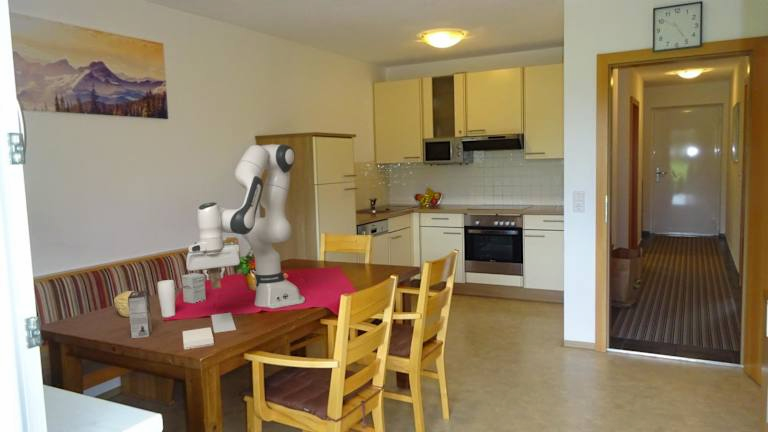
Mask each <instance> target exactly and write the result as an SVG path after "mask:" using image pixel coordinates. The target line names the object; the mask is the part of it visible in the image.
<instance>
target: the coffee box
mask: <svg viewBox="0 0 768 432" xmlns="http://www.w3.org/2000/svg"><path fill="white" fill-rule="evenodd" d="M150 303H151V302H150V293H149V290H148V289H145V290H138V291H136V292H131V294H130V295H129V297H128V304H129V314H130V317H129V325H130V332H131V333H130V334H131V339H132V340H133V338H134V339H140V338H147V337H150V335H151V333H152V330H153V326H152V316H151V304H150Z"/></svg>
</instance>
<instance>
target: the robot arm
mask: <svg viewBox="0 0 768 432" xmlns="http://www.w3.org/2000/svg"><path fill="white" fill-rule="evenodd" d="M295 154H296V153H295V150H294V149H293V147H291V146H290V145H287V144H275V143H272V144H262V145H259V144H252V145H250V146H249V147H248V148H247V149H246V150H245V151H244V153H243V155H242V156H241V157H240V159H239V161H238V163H237V165H236V168H235V170H234V178H235V181H236V182H237V184H238V185H239V186H240V187H242V188H244V189H245V190H246V194H245V196H244V200H243V203H242V205H241V207H239V208H226V207H223V206H221V205H219V204H218V203H217V202H214V201H213V202H207V203H203V204H201V205H200V206H198V209H197V212H196V213H197V214H196V219H197V228H198V232H199V237H198V240H197V241H195V242H193V243H191V244H189V245H188V247H187V250H188V252H187V255H186V270H187V271H188V272H191V271H201V270H203V273H204V275H206V279H207V281H211V275H210V274H208V270H210V268H217V269H218V268H220V270H221V271H220V273H219V272H218V273H219V277H220V279H223V278H224V276H223V274H224V272H225V270H226V267H235V266H238V265H240V263H241V262H240V261H241V260H240V254H239V252H240V245H239V244H238V243H237V242H235V241H231V242H224V237H223V233H228V234H239V235H241V236H242V238H243V239H244V240H246V242H247V243H248V245H249V246H250V249H251V251H252V253H253V256H254V257H253V259H254V262H255V263H254V265H255V274H254V284H255V288H256V289H255V298H254V299H255V300H254V304H253V305H255V306H256V307H260V308H261V307H263V308H268V309H277V308H283V307H289V306H294V305H301V304H304V303H305V302H306V298H305V297H304V296H303V295H301V294H300V290H299V288H298V287H297V285H295V284H294V283H292V282H290V281H289V280H288V277H289V274H287V272H284V271H282V269H281V267H282V266H281V256H280V253H279V252H278V251H277V250H276V249H275V248H274V247H273V245H272V243H273V244H278V243H283V242H287V241H288V240H289V239H290V238H291V235H292V229H293V228H292V225H291V224H290V222H289V221H288V219H287V216H286V209H285V207H286V202H287V197H288V194H289V188H290V184H291V183H290V182H291V181H290V179H291V173H290V170H291V169H292V168H293V165H294V164H295V160H296V155H295ZM265 170H267V175H266V179H265V181H264V182H263V180H262V177H263V175H264V172H265ZM259 204H260V206H261V207H262V208H263V209H264V213H265V215H264V217H257V216H256V214H257V210H258V206H259Z"/></svg>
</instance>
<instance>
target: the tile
mask: <svg viewBox="0 0 768 432" xmlns="http://www.w3.org/2000/svg"><path fill="white" fill-rule="evenodd" d="M182 341H183V350H190V348H191V349H196V348H204V347H209V346H210V347H211V346H214V343H215V341H214V336H213V331H212V327H203V328H195V329H188V330H182Z"/></svg>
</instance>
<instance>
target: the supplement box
mask: <svg viewBox="0 0 768 432" xmlns="http://www.w3.org/2000/svg"><path fill="white" fill-rule="evenodd" d="M181 281H182V294H183V295H182V296H183V302H184V303H189V304H193V303H194V304H197V303H196V302H198V303H200V302H199V301H201V302H204V301H203V300H205V301H206V299H207V297H206V284H205V283H206V282H205V273H204V274H203V273H197V272H191V273H188V274H183V275H181Z"/></svg>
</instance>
